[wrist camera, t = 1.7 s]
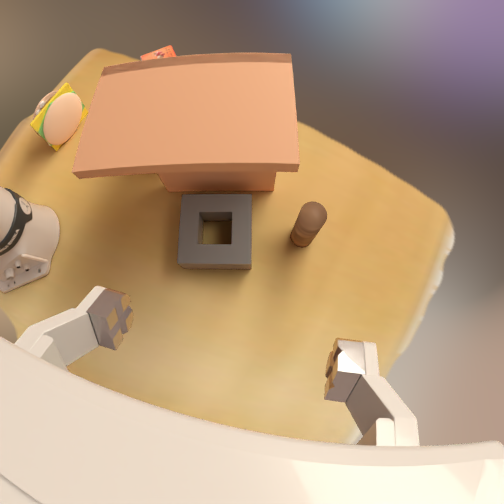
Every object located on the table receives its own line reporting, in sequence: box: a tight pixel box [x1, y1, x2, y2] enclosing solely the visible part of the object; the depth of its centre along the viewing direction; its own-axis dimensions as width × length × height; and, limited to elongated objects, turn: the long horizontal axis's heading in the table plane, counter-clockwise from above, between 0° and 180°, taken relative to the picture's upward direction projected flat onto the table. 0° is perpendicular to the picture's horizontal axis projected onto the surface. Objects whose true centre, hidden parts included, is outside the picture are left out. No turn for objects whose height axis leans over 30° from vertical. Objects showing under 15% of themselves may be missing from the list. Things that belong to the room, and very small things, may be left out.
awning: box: [72, 53, 300, 192], centre depth 43 cm, size 13×20×33 cm, turn 89°
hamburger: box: [30, 83, 88, 151], centre depth 58 cm, size 12×8×12 cm
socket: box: [177, 194, 252, 269], centre depth 55 cm, size 12×12×5 cm
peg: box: [291, 202, 327, 247], centre depth 52 cm, size 4×4×12 cm
